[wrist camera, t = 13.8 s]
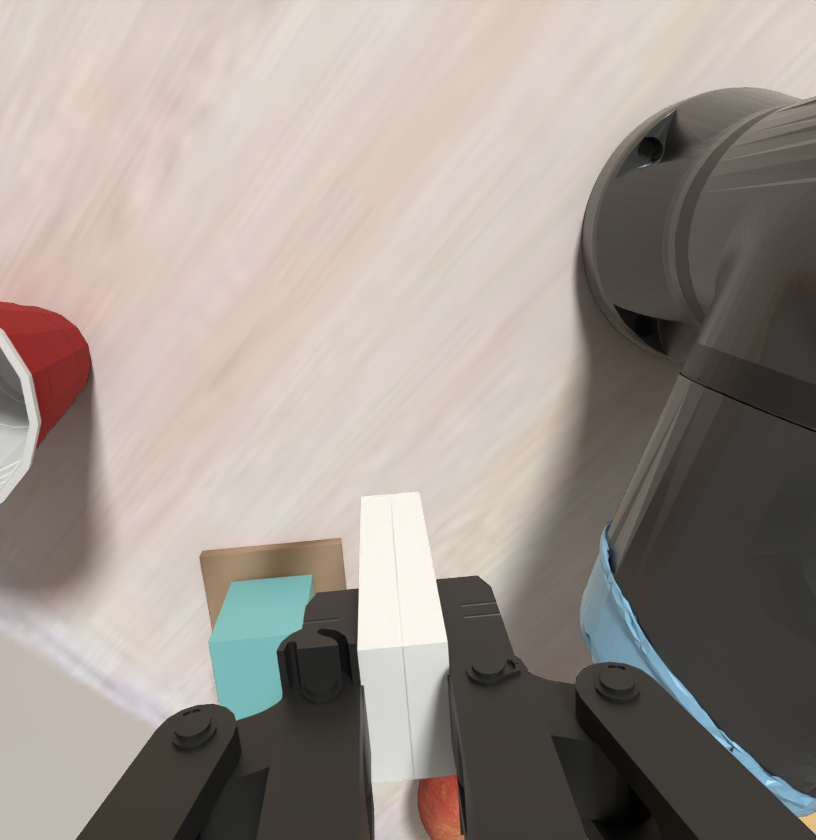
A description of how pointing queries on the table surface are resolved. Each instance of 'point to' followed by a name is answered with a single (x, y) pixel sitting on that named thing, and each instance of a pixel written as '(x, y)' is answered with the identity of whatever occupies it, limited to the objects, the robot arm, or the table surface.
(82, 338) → the plastic cup
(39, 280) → the table surface
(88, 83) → the table surface
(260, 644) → the teal rectangular block
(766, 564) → the robot arm
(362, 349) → the table surface
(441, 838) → the apple
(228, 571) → the peg stand
